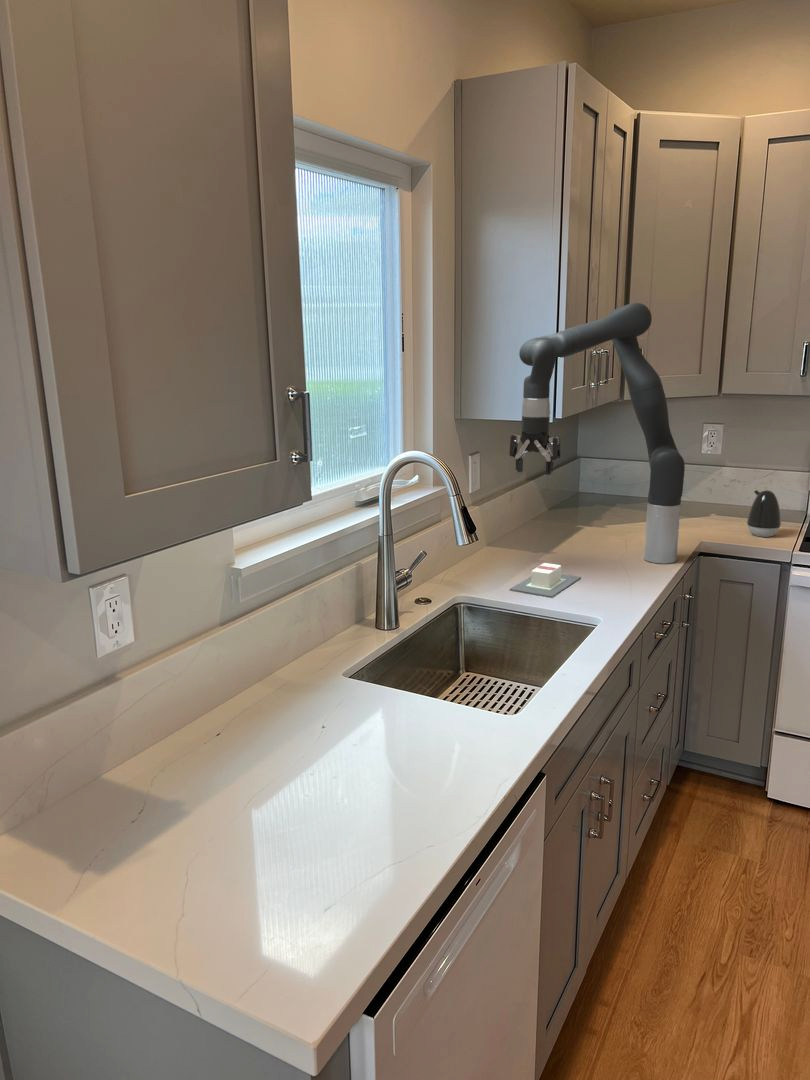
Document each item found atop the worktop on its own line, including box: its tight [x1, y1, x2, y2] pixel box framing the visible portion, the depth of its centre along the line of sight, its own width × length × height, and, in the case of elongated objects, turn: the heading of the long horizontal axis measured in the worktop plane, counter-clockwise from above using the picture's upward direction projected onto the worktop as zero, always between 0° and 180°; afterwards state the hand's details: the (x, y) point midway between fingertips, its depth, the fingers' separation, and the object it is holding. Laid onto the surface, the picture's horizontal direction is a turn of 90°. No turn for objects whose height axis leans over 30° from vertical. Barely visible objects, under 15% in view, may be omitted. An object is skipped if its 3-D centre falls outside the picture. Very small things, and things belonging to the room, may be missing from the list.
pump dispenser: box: [746, 489, 782, 538], centre depth 263 cm, size 10×10×15 cm
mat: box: [509, 573, 582, 598], centre depth 215 cm, size 20×12×1 cm, turn 147°
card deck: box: [530, 562, 562, 588], centre depth 214 cm, size 5×9×4 cm, turn 149°
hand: (534, 473), depth 221 cm, fingers open, 8 cm apart
